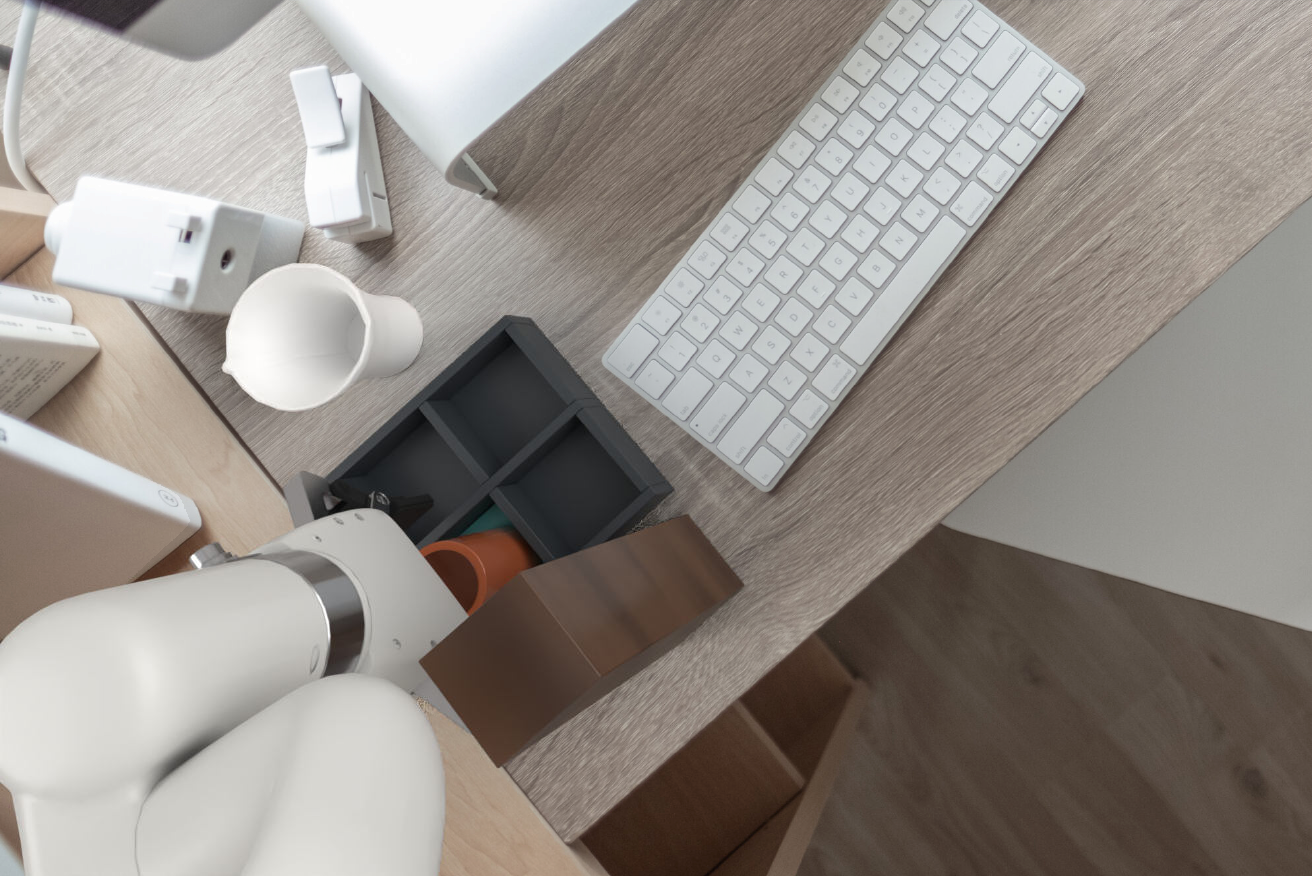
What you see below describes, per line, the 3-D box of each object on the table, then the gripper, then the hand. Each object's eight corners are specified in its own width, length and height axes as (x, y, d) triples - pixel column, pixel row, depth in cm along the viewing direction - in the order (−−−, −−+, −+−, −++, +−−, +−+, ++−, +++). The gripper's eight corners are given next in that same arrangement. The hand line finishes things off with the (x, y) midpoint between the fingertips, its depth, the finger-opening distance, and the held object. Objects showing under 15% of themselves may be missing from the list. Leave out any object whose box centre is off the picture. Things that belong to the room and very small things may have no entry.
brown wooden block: (674, 648, 75) (497, 769, 52) (617, 575, 76) (416, 661, 52) (745, 585, 76) (601, 677, 52) (687, 513, 76) (520, 571, 53)
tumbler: (530, 617, 75) (472, 642, 68) (455, 598, 76) (388, 621, 68) (551, 535, 76) (496, 552, 69) (476, 517, 76) (413, 532, 69)
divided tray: (675, 489, 77) (656, 494, 73) (498, 652, 76) (470, 665, 72) (530, 317, 79) (505, 314, 75) (357, 473, 78) (323, 478, 75)
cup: (304, 306, 80) (197, 295, 70) (431, 257, 80) (342, 239, 70) (339, 430, 79) (236, 436, 69) (468, 379, 79) (384, 379, 69)
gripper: (107, 547, 55) (330, 509, 72) (323, 844, 53) (502, 732, 70) (230, 439, 56) (424, 426, 72) (450, 728, 53) (598, 645, 70)
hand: (462, 576), depth 71 cm, fingers open, 9 cm apart
